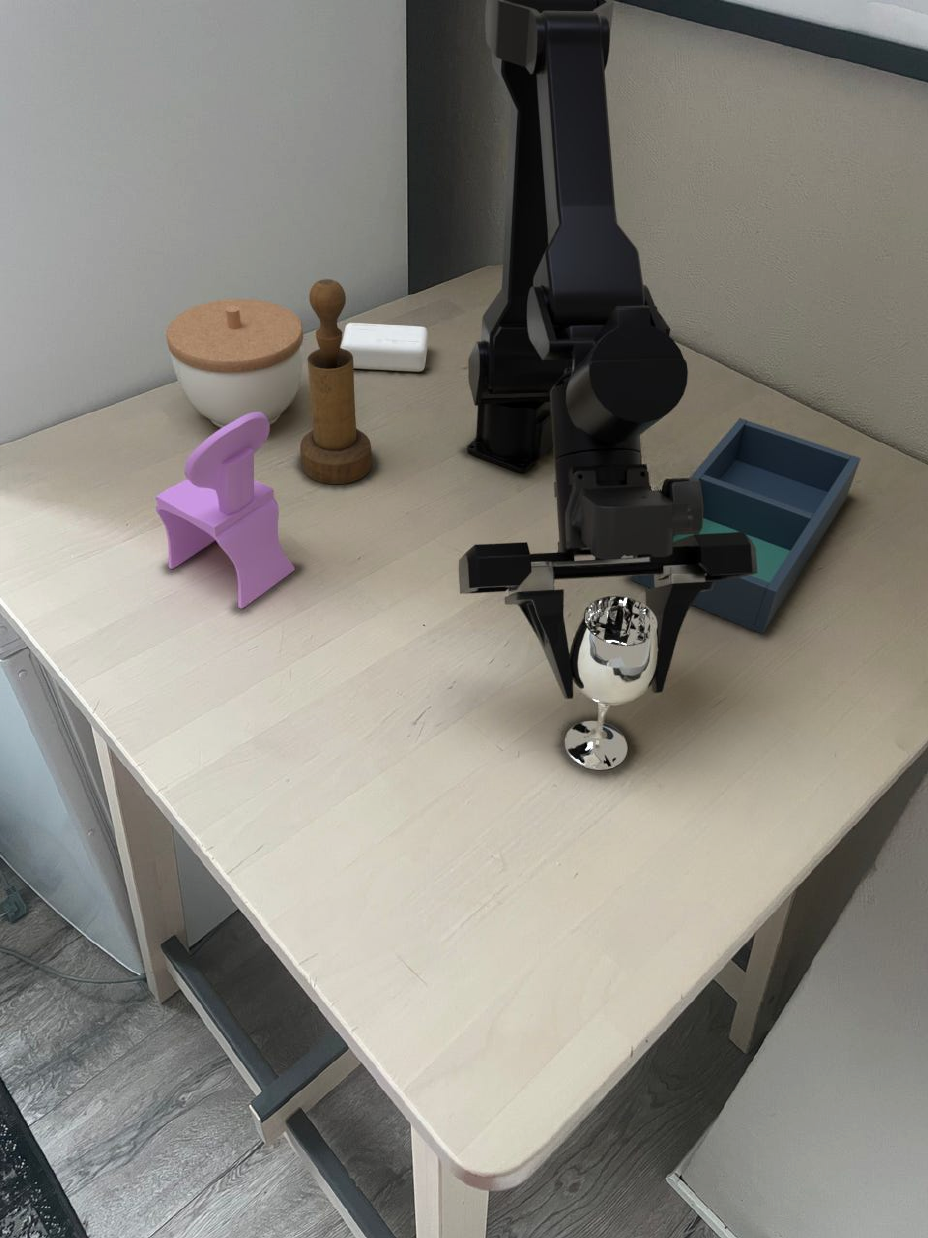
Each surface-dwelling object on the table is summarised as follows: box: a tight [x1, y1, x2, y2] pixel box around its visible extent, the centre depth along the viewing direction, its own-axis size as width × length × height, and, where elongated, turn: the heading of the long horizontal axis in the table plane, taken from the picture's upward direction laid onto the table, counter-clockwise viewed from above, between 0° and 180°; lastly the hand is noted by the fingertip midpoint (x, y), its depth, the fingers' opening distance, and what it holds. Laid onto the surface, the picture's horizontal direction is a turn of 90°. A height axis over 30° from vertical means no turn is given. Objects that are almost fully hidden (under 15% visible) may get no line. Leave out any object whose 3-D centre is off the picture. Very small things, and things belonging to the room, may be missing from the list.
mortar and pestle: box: [299, 278, 373, 485], centre depth 91 cm, size 7×6×18 cm
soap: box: [340, 322, 429, 373], centre depth 111 cm, size 9×6×3 cm, turn 88°
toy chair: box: [155, 412, 296, 610], centre depth 80 cm, size 8×9×15 cm
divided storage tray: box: [630, 417, 862, 635], centre depth 89 cm, size 12×22×4 cm, turn 148°
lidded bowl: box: [166, 298, 304, 429], centre depth 99 cm, size 13×13×11 cm
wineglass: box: [564, 595, 659, 771], centre depth 68 cm, size 6×6×12 cm
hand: (612, 695), depth 67 cm, fingers closed on wineglass, 5 cm apart
